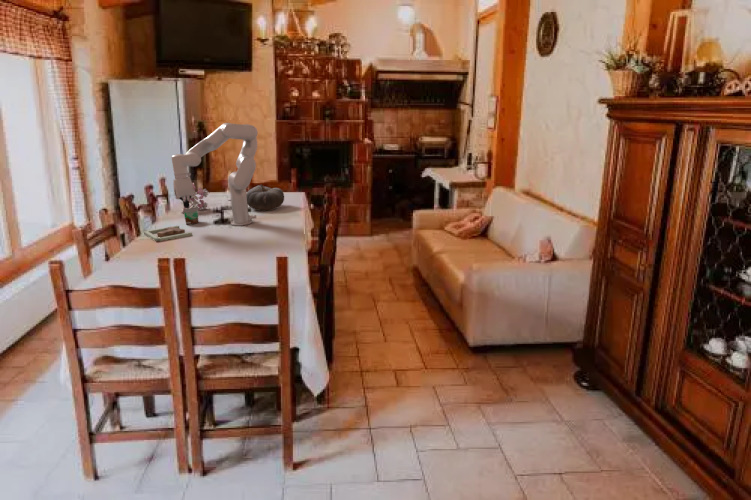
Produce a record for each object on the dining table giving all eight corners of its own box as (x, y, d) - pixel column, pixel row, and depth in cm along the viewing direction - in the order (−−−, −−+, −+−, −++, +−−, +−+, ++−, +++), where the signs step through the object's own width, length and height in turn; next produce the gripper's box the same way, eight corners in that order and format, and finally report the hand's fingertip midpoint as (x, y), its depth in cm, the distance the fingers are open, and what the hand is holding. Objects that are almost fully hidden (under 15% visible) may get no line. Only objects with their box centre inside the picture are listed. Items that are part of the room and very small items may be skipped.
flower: (202, 213, 359) (207, 177, 363) (168, 210, 359) (173, 174, 362) (210, 219, 378) (215, 185, 382) (178, 216, 378) (183, 182, 382)
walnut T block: (171, 231, 321) (170, 226, 320) (185, 234, 314) (184, 229, 313) (153, 236, 311) (152, 231, 310) (167, 239, 304) (166, 234, 303)
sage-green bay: (178, 227, 329) (178, 225, 328) (192, 235, 311) (192, 232, 311) (143, 234, 317) (143, 231, 317) (156, 242, 300) (156, 239, 299)
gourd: (254, 200, 388) (254, 177, 381) (288, 206, 386) (289, 183, 379) (240, 212, 365) (241, 187, 358) (276, 218, 363) (278, 193, 356)
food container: (194, 225, 334) (192, 209, 331) (184, 225, 335) (182, 209, 332) (204, 220, 345) (202, 205, 342) (195, 220, 346) (193, 204, 343)
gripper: (192, 173, 319) (197, 204, 325) (166, 177, 311) (171, 209, 316) (196, 175, 313) (201, 206, 319) (170, 179, 305) (176, 211, 310)
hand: (186, 207), depth 318 cm, fingers closed
